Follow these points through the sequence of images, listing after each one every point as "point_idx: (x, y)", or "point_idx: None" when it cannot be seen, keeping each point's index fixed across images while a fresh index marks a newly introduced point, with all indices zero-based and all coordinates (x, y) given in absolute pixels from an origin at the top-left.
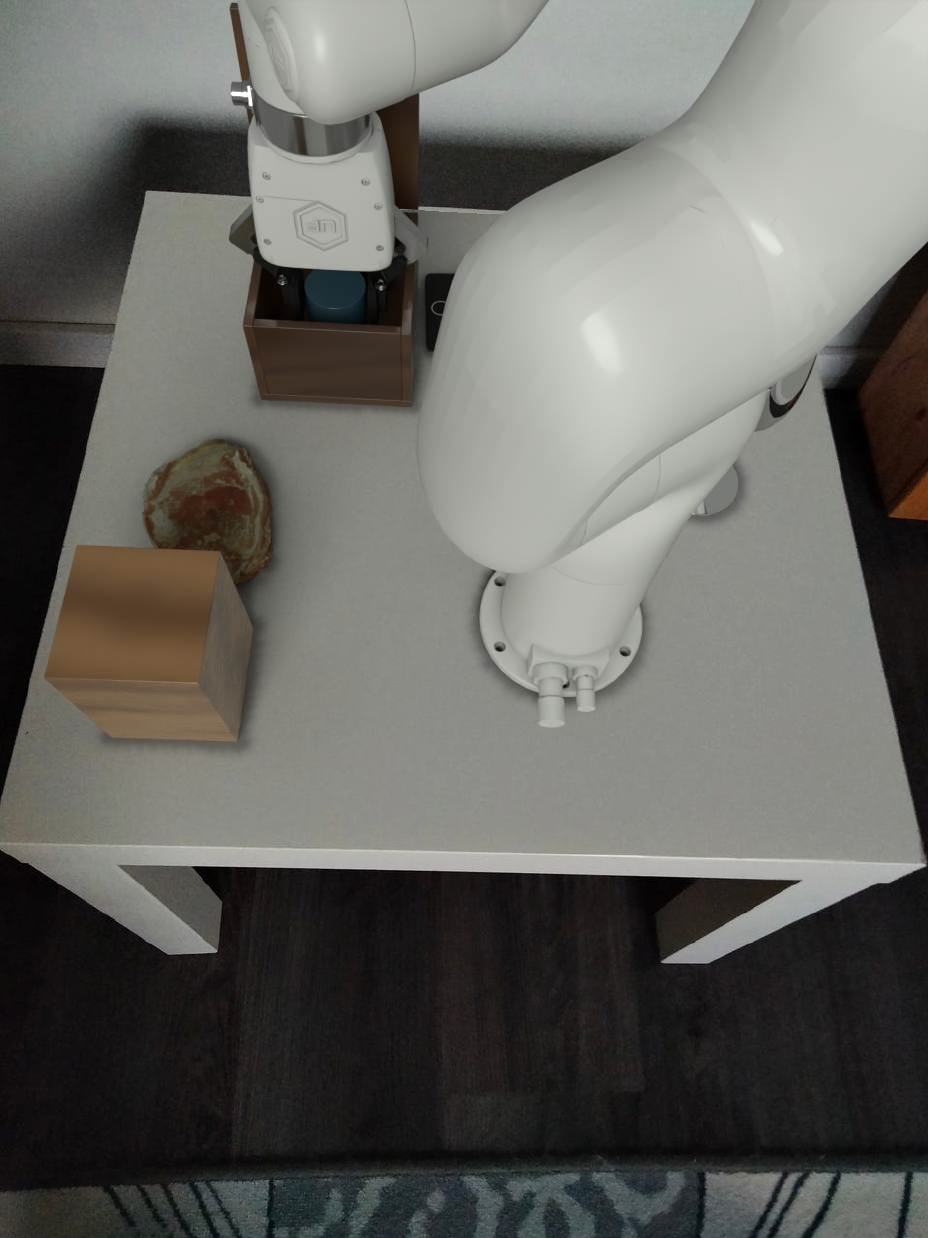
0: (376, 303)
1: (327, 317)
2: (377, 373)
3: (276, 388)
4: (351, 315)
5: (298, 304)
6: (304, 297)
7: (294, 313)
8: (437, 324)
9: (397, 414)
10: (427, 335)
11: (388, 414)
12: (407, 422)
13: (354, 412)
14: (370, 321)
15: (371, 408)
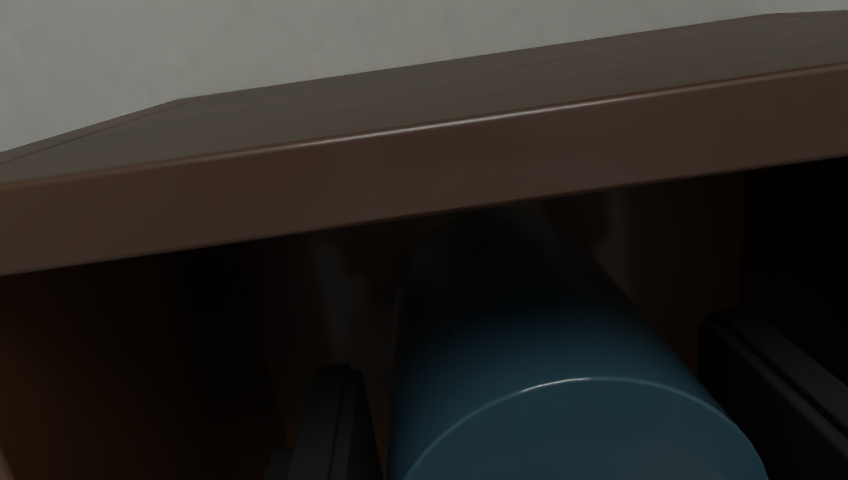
0: (287, 476)
1: (585, 332)
2: (258, 101)
3: (734, 23)
4: (444, 377)
5: (777, 382)
6: None
7: (772, 336)
8: None
9: (220, 53)
10: None
11: (255, 45)
12: (168, 19)
13: (391, 27)
14: (350, 381)
15: (329, 62)
